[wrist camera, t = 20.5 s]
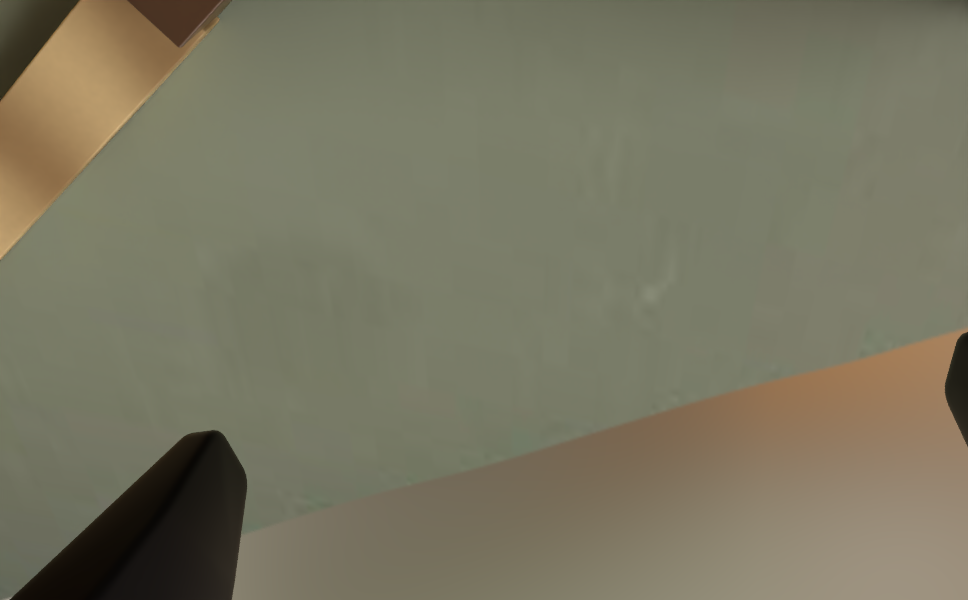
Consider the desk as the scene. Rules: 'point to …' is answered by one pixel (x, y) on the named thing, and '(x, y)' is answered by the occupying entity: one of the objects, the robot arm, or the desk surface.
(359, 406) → the desk surface
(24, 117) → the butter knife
